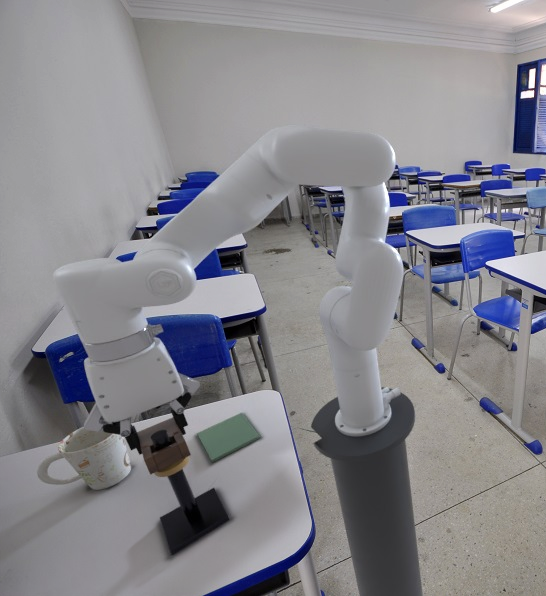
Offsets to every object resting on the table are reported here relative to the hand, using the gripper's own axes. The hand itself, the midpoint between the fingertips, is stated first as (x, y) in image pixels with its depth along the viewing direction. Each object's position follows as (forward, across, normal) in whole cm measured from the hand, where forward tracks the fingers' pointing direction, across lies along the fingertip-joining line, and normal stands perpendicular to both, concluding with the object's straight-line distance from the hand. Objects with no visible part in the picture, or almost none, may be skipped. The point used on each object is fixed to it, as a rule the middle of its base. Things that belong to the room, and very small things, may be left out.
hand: (161, 439), depth 62 cm
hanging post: (+12, 0, +8) cm, 15 cm away
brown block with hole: (0, 0, +4) cm, 4 cm away
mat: (+12, -10, -10) cm, 19 cm away
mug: (+13, +11, -16) cm, 23 cm away
